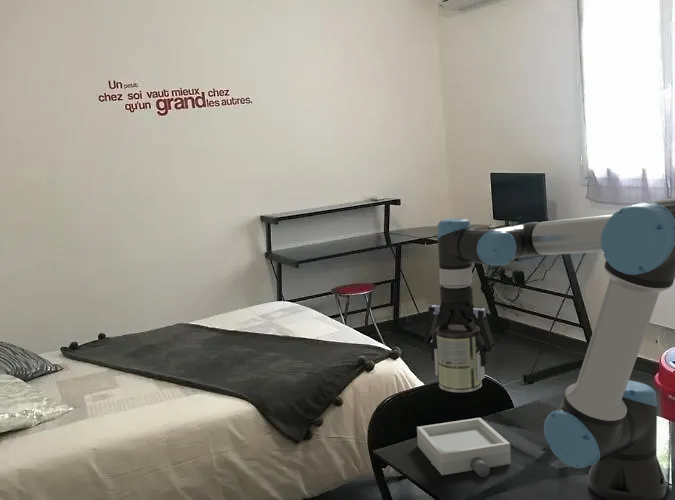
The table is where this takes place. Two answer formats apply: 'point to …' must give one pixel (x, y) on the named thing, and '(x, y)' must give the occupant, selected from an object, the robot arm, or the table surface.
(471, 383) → the coffee can
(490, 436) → the white square tray
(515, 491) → the table surface
